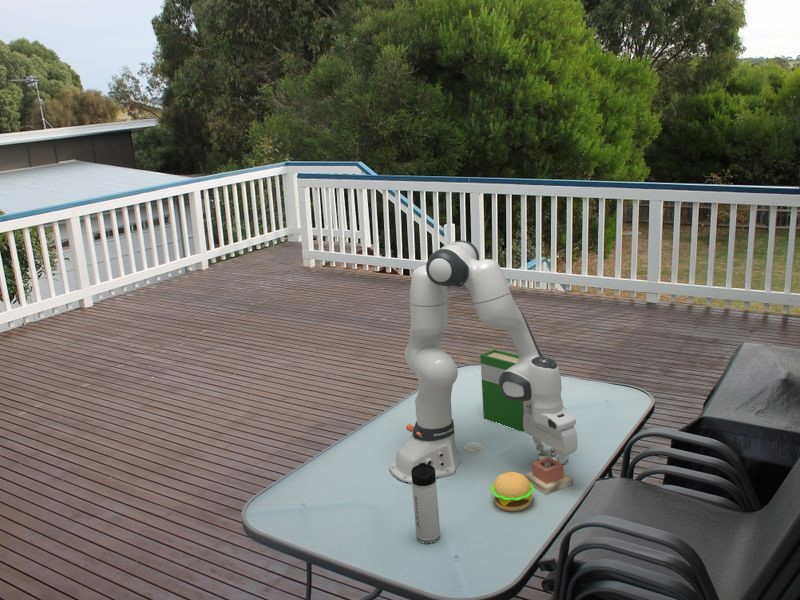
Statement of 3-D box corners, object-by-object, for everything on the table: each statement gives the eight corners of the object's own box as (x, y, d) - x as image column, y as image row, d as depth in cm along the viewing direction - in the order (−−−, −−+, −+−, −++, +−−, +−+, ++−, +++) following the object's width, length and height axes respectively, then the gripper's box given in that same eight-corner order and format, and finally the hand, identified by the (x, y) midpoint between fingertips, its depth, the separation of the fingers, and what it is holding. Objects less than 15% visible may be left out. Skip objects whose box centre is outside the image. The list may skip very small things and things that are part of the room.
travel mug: (439, 529, 198) (434, 461, 193) (441, 543, 192) (436, 473, 186) (415, 531, 198) (410, 463, 193) (417, 545, 192) (411, 475, 186)
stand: (545, 494, 210) (544, 474, 209) (524, 480, 219) (523, 460, 217) (572, 484, 215) (572, 464, 213) (550, 470, 223) (550, 451, 222)
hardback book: (536, 424, 255) (534, 359, 249) (522, 432, 250) (520, 365, 244) (497, 411, 268) (494, 349, 262) (483, 418, 263) (480, 355, 257)
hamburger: (541, 510, 203) (540, 481, 201) (499, 517, 201) (497, 489, 199) (525, 489, 215) (524, 462, 212) (485, 496, 213) (484, 469, 210)
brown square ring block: (546, 484, 212) (545, 471, 211) (532, 475, 218) (532, 462, 217) (563, 477, 215) (563, 465, 214) (549, 469, 221) (549, 456, 220)
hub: (551, 469, 224) (550, 458, 223) (532, 458, 232) (532, 447, 231) (574, 461, 228) (573, 449, 227) (555, 450, 236) (554, 439, 235)
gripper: (516, 404, 219) (519, 447, 222) (562, 427, 201) (565, 473, 205) (533, 398, 221) (536, 440, 225) (580, 420, 204) (582, 465, 208)
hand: (550, 456), depth 215 cm, fingers open, 8 cm apart
